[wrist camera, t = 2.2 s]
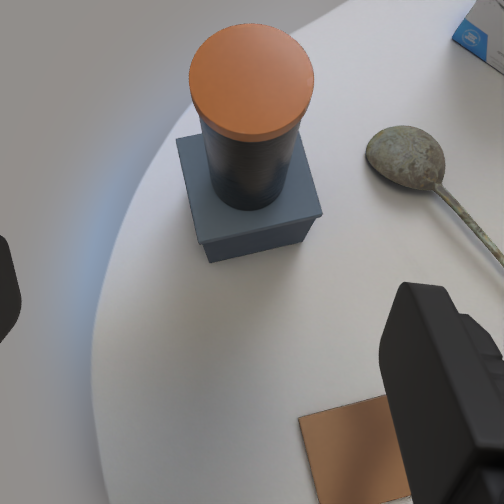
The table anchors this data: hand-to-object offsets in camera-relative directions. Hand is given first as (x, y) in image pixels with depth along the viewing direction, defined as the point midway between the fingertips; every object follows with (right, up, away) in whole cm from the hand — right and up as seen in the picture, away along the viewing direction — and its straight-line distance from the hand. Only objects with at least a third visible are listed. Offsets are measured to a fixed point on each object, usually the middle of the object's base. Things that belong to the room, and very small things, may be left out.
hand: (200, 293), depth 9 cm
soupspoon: (+20, +4, +33) cm, 39 cm away
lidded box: (+1, +5, +32) cm, 32 cm away
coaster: (+10, -16, +27) cm, 34 cm away
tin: (+1, +7, +23) cm, 24 cm away
